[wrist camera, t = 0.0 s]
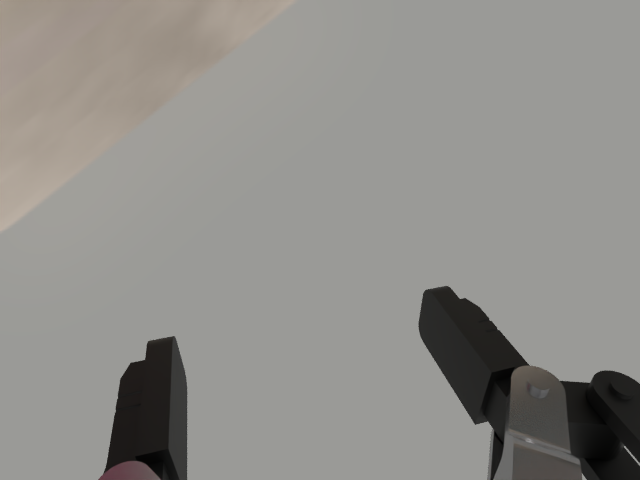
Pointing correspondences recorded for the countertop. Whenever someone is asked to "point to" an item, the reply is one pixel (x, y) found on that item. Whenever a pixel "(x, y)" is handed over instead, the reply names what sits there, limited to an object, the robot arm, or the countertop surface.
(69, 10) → the countertop surface
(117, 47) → the countertop surface
